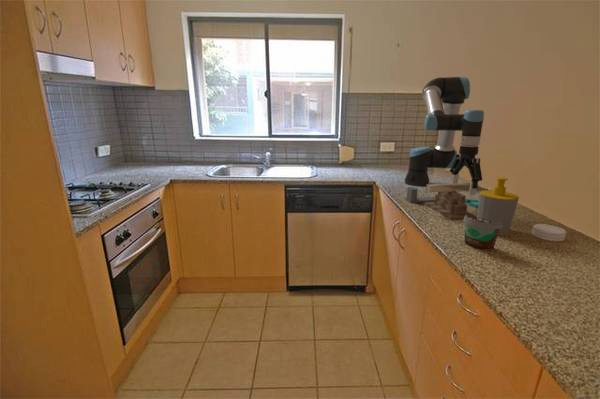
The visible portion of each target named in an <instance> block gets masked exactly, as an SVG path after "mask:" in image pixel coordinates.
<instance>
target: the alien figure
mask: <svg viewBox="0 0 600 399" xmlns="http://www.w3.org/2000/svg"><path fill="white" fill-rule="evenodd" d="M465 204H468V206H469V207H471V208H474V209H478V204H479V199H473V198H472V199H471V198H467V197H465Z"/></svg>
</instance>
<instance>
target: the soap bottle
mask: <svg viewBox="0 0 600 399" xmlns="http://www.w3.org/2000/svg"><path fill="white" fill-rule="evenodd" d="M495 180H497V183H496V184H497V185H495V186H494V188H493V189H491V190H489V189H487V190H481V191H480V192H479V196H478V200H479V204H478V208H477V215H476V218H478V219H485V220H488V221H490V222H494V223H500V222H502V224H503V228H501V229H500V230H499V233H498V236H505V235H509V233H510V231H511V227H512V223H513V220H514V216H515V212H516V209H517V205H518V202H519V199H520V196H519V195H518V194H515V193H513V192H508V191H506V190H507V187H506V186H505V184H506V183H505V182H506V181H508V180H509V179H508V178H506V177H503V176H502V177H501V176H499V177H495Z"/></svg>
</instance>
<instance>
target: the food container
mask: <svg viewBox="0 0 600 399" xmlns="http://www.w3.org/2000/svg"><path fill="white" fill-rule="evenodd" d="M462 221H463V222H464V244H465V245H467V246H468V247H471V248H473V249H478V250H484V251H485V250H491V249H494V248H495V245H496V241H497V238H498V236H499V235H498V233H499V230H500V229H501V228H503V224H502V222H500V223H494V222H490V221H488V220H485V219H478V218H477V217H476V218H472V217H467V214H466V215H465V217H464V219H462Z"/></svg>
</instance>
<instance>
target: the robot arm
mask: <svg viewBox="0 0 600 399" xmlns="http://www.w3.org/2000/svg"><path fill="white" fill-rule="evenodd" d="M470 92H471V84H470V80H469V78H468V77H466V76H464V77H463V76H453V77H452V76H449V77H448V76H447V77H436V78H433V79H431V80H429V81H428V82H427V84H425V85H424V87H423V88H422V92H421V93H422V95H421V96H422V100H423V101H424V102H425V105H426V111H427V114H426V115H425V118H424V129H425V130H427V131H439V133H438V140H437V144H436V145H434V148H433V149H432V148H431V147H430V146H418V147H413V148H412V149H410V152H409V160H408V161H409V162H408V170H407V173H406V176H405V177H404V184H405V185H409V186H415V187H416V186H420V187H422V186H423V187H424V186H425V187H426V184H430V178H429V174H428V173H429V172H428V171H429V169H443V170H444V169H449V173H451V175H452V177H451V183H450V184H458V183H459V174H460V172H461V170H462V169H463V168H464V167H466V168H467V169H468V172H469V174H470V177H471V180H470V182H469V183H470V189H469V191H468V195H469V196H476V192H477V191H476V188H477V185H478V186H479V184H478V183H479V182H482V181H483V175H482V170H481V158H480V157H478V158H476V156H477V155H479V148H480V147H479V146H480V143H481V134H482V129H483V124H484V119H485V112H484V111H485V110H482V109H480V110H479V109H474V110H473V109H469V110H465V112H464V113H463V114H462V113H461V114H460V109H461V106H462V105H463V104H465V101H466V100H469V98H470ZM458 131H459V132H461V138H460V146H459V150H458V151H459V152H457V150H456V148H455V146H454V140H455V135H456V132H458ZM458 153H459V154H458Z"/></svg>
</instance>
